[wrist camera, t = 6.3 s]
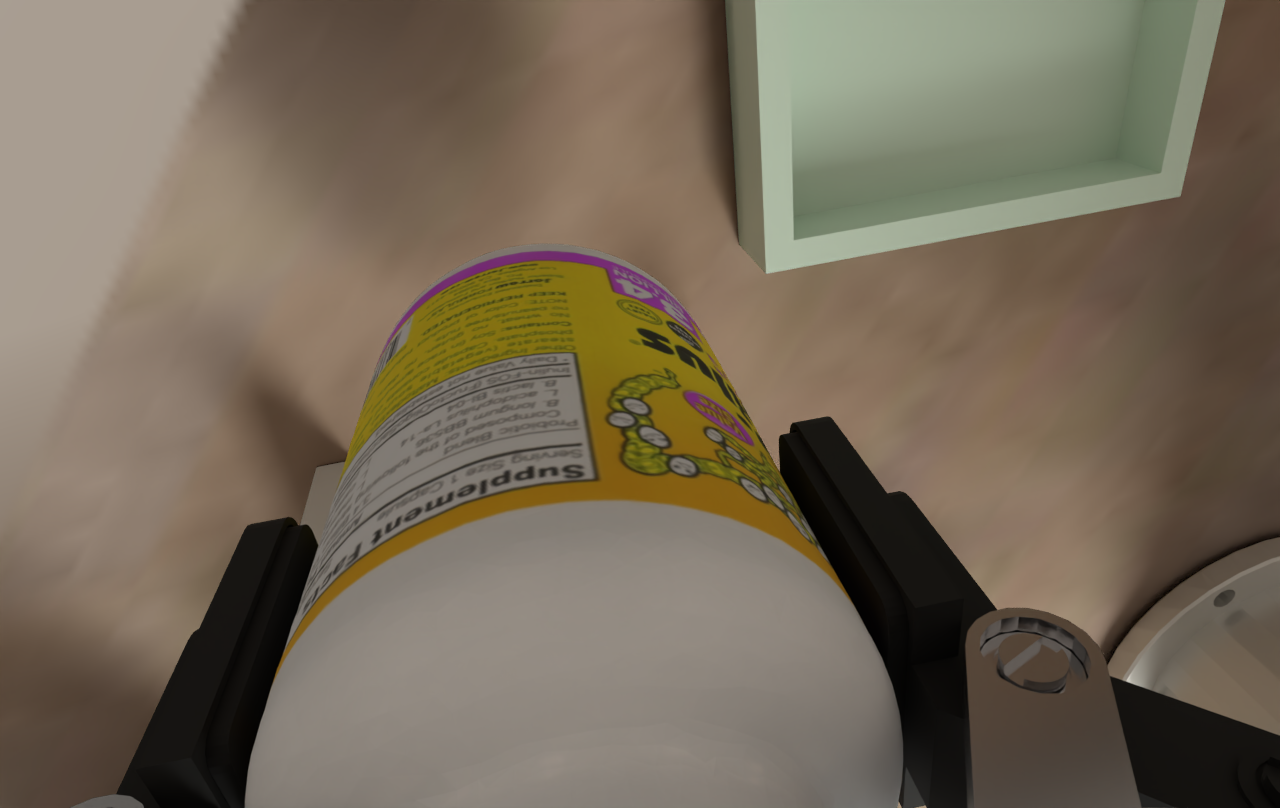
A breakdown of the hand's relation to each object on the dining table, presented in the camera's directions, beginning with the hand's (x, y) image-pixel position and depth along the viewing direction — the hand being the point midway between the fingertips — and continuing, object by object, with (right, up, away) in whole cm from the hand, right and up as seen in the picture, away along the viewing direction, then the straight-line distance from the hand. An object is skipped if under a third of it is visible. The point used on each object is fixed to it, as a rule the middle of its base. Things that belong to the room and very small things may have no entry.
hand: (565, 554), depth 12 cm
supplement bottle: (-1, +3, +5) cm, 5 cm away
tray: (+8, +12, +7) cm, 16 cm away
